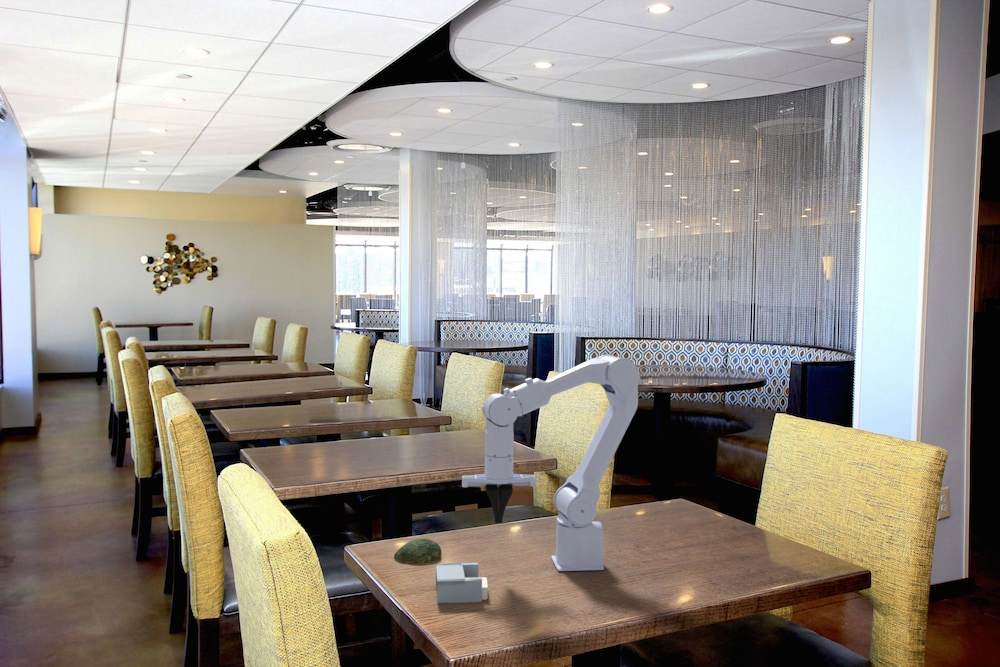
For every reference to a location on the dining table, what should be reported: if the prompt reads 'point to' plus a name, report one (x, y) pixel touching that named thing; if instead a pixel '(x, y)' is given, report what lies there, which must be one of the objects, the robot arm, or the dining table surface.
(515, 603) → the dining table surface
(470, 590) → the bracket
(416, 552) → the seashell
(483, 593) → the cream rectangular block
